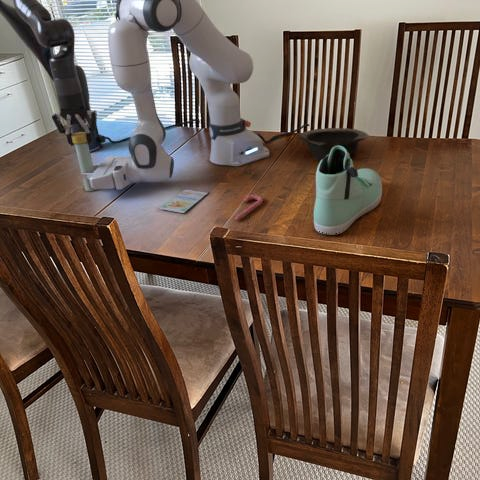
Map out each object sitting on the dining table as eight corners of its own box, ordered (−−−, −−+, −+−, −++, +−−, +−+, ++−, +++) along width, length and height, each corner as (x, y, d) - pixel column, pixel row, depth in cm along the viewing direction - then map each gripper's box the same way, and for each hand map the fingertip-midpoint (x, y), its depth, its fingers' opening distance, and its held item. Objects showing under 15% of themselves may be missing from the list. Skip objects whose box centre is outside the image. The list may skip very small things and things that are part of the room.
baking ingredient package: (158, 207, 146) (184, 188, 157) (159, 209, 146) (185, 189, 158) (183, 212, 142) (208, 192, 154) (183, 213, 143) (208, 193, 154)
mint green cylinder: (97, 185, 166) (85, 133, 156) (98, 189, 162) (86, 137, 153) (85, 187, 165) (72, 135, 155) (85, 192, 161) (73, 139, 152)
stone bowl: (326, 172, 161) (325, 145, 157) (286, 155, 181) (284, 131, 177) (383, 154, 170) (384, 128, 165) (339, 140, 190) (339, 116, 186)
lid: (72, 144, 152) (70, 137, 151) (72, 139, 157) (71, 133, 155) (88, 142, 153) (87, 135, 152) (88, 137, 158) (86, 131, 156)
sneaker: (389, 187, 148) (396, 123, 138) (356, 242, 123) (361, 168, 112) (346, 181, 154) (350, 119, 144) (306, 232, 129) (307, 161, 118)
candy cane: (221, 217, 140) (221, 213, 139) (250, 196, 150) (250, 192, 149) (238, 222, 136) (238, 217, 136) (266, 200, 146) (266, 196, 146)
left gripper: (41, 96, 143) (56, 150, 152) (90, 92, 144) (101, 146, 153) (48, 89, 150) (62, 142, 159) (94, 86, 150) (105, 138, 159)
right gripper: (131, 149, 167) (92, 151, 168) (116, 173, 149) (72, 175, 150) (134, 166, 170) (96, 168, 171) (120, 191, 153) (77, 193, 154)
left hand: (81, 144), depth 155 cm, fingers closed on lid, 5 cm apart
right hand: (85, 172), depth 161 cm, fingers closed on mint green cylinder, 4 cm apart
